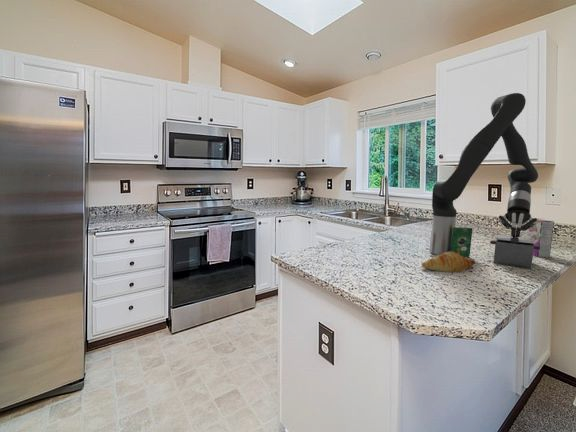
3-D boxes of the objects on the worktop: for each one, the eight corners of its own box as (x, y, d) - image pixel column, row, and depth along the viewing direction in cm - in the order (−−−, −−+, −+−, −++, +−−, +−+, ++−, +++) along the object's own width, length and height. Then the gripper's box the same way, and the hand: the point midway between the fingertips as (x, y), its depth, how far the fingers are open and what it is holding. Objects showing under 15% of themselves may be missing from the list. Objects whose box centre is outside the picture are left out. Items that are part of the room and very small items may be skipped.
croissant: (425, 281, 110) (433, 265, 106) (412, 261, 118) (419, 246, 114) (477, 277, 113) (486, 262, 109) (461, 259, 121) (469, 244, 117)
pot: (487, 262, 123) (489, 240, 122) (490, 256, 132) (492, 236, 131) (538, 270, 113) (541, 246, 112) (536, 263, 123) (539, 241, 121)
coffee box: (465, 255, 133) (467, 226, 132) (470, 257, 131) (473, 227, 129) (449, 256, 132) (452, 226, 130) (454, 258, 129) (457, 228, 127)
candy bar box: (522, 251, 143) (527, 216, 141) (535, 251, 142) (539, 217, 140) (537, 257, 132) (541, 220, 130) (550, 258, 131) (555, 220, 129)
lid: (494, 240, 115) (494, 237, 115) (497, 236, 130) (497, 233, 130) (535, 245, 108) (536, 241, 108) (534, 240, 122) (534, 237, 122)
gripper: (500, 197, 127) (495, 229, 119) (540, 198, 119) (538, 233, 111) (499, 208, 132) (494, 240, 124) (538, 210, 124) (535, 245, 116)
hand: (515, 237), depth 118 cm, fingers closed
